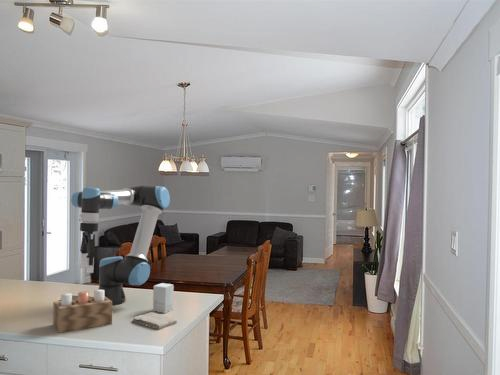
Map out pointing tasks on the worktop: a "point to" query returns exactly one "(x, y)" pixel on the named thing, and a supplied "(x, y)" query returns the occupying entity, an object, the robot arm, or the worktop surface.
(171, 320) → the washcloth
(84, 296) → the terracotta plug
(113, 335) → the worktop surface
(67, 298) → the grey plug
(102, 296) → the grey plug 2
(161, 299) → the supplement box
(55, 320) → the walnut socket block
